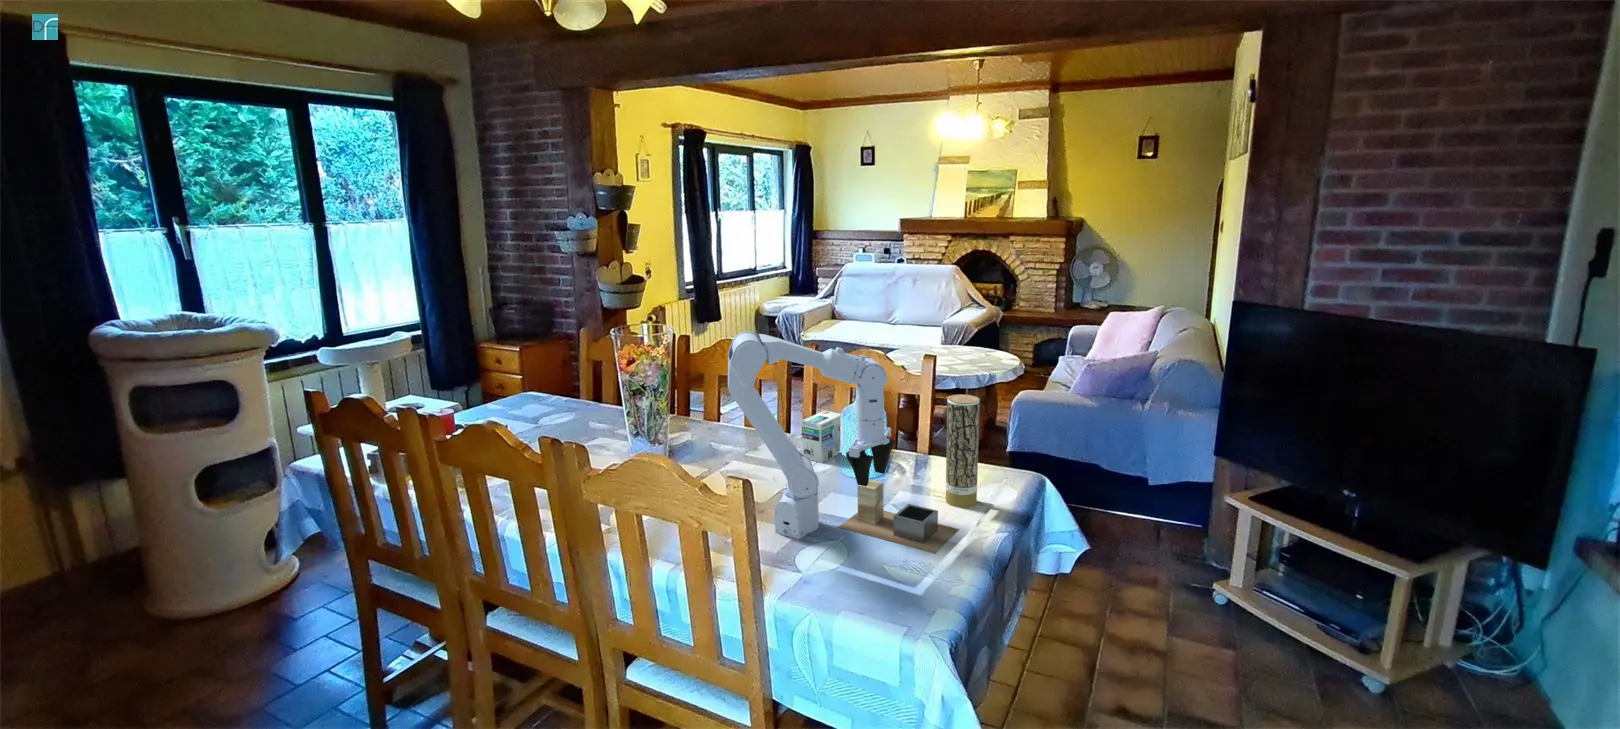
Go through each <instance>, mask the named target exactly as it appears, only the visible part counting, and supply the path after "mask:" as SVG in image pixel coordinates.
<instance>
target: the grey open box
mask: <svg viewBox="0 0 1620 729" xmlns="http://www.w3.org/2000/svg"><path fill="white" fill-rule="evenodd" d="M938 524H939V510H936V509H932V508H927V507H924V506H919V505H916V504H912V503H911V504H910V503H907V504H906V505H904V507H902V508H901V509H900V510H899V511H898V512H896V514H895V515H894V516H893V535H894V536H898V537H901V538H905V539H909V540H913V541H917V542H921V543H925V542H926V541H927V540H928V539H929V538H930V537H931V536H932V535H933V534H934V533H935V532H936V531H937V530H938Z"/></svg>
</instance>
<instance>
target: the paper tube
mask: <svg viewBox="0 0 1620 729" xmlns="http://www.w3.org/2000/svg"><path fill="white" fill-rule="evenodd" d="M946 402H947V403H946V404H947V405H946V406H947V407H946V410H947V411H946V450H945V451H946V453H945V454H946V455H945V456H946V460H945V465H946V466H945V503H946V504H948V506H951V507H954V508H961V509H966V508H972V507H974V506H976V504H977V503H978V502H977V499H978V496H977V493H978V470H979V469H978V466H979V465H978V464H979V439H980V438H979V432H980V431H979V430H980V403H981V402H980V398H979V397H978V396H976V395H972V394H954V395H950V396H948V397H947V401H946Z"/></svg>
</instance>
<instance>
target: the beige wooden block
mask: <svg viewBox="0 0 1620 729" xmlns="http://www.w3.org/2000/svg"><path fill="white" fill-rule="evenodd" d="M884 509H885V508H884V482H882V481H880V480H879V481H877V480H874V479H870V478H869V482H868V485H867V486H861V485H858V484H857V513H858V521H862V522H866V523H870V524H874V525H875V524H876V523H877V522H878V521H880V520H881V519H882V518H883V517H884V511H885V510H884Z"/></svg>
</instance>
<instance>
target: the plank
mask: <svg viewBox="0 0 1620 729" xmlns="http://www.w3.org/2000/svg"><path fill="white" fill-rule="evenodd" d="M896 513H897V512H896ZM896 513H895V512H890V511H887V510H884V517H883V518H882V519H881V520H880V521H878V522H877V523H876V524H875V525H874V524H870V523H866V522H862V521H858V512H856V513H855V514H853V515H852V516H851V517H849V518H848V519H847V520H846V521H844V522H843V523H841V525H839V526H837V529H840V530H841V529H842V530H846V531H849V532H853V533H857V534H860V535H864V536H867V537H872V538H875V539H879V540H883V541H886V542H891V543H894V544H897V545H901V546H906V547H909V548H911V549H912V548H913V549H916V550H920V551H923V552H928V553H931V554H936V553H938V552H939V550H941V548H942V547H943V546H945V544H947V542H949V540H951V538H953V536H955V534H956V533H958V532H959V530H960V528H956V527H952V526H949V525H945V524H940V523H938V530H937V531H936V532H935V533H934V534H933V535H932V536H931V537H930V538H929V539H928V540H927V541H926V542H925V543H921V542H917V541H913V540H909V539H905V538H901V537H898V536H894V535H893V516H894V515H895V514H896Z"/></svg>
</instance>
